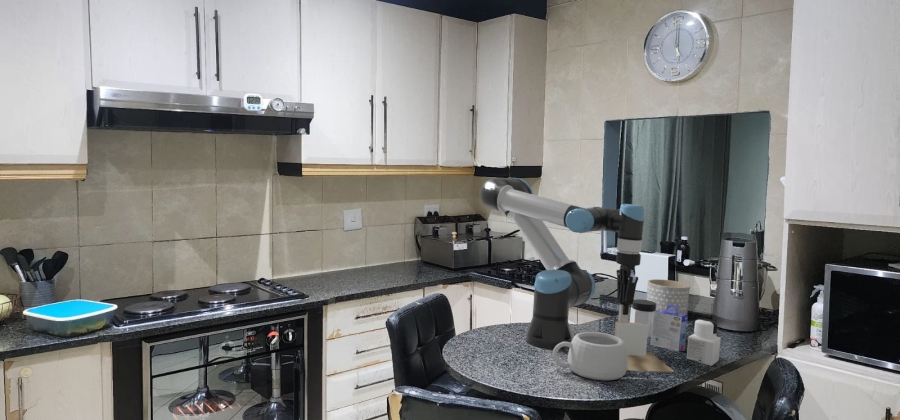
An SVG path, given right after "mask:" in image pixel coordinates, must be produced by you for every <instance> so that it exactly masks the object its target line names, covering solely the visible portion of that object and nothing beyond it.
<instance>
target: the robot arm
mask: <svg viewBox="0 0 900 420" xmlns="http://www.w3.org/2000/svg"><path fill="white" fill-rule="evenodd" d="M479 197H480V200H481V203H482V204H483V205H484V206H485V207H486V208H488V209H490V210H493V211H494V210H495V211H498V212H501V213H502V212H503V214H505V216H506V218H507V219H509V220H513V221H514V222H515V224H516V226H517V227H518V228H519V230H520V231H521V233H522V235H523V236H524V238H525V239H526V241H527V242H528V244H529V245H530V247H531V248H532V250H533V251H534V253H535V254H536V256H537V258H538V260H540V262H541V264H542V265H543V266H544V268H545V270H542V271H540V272H538V273H537V274H536V276H535V282H534V285H533V287H534V291H533V292H534V293H533V304H532V305H533V306H532V307H533V309H532V318H531V320H530V323H529V325H528V328H527V331H526V333H525V341H526V342H527V343H529V344H530V345H532V346H535V347H540V348H544V349H545V348H546V349H552V350H553V349H554V348H555V346H556V345H557V344H559V343H561V342H570V343H571V342H572V339H573V336H572V332H571V327H570V325H569V324H570V323H569V315H570V314H569V313H570V312H569V311H570V308H572V307H577V306H582V305H583V304H585V303H587V302H589V301H590V300H591V299H592V298H593V297H594V294H595V290H596V282H595V278H594V276H593V275H592V274H591V273H590V272H589V271H587V270H584V269H581V267H580V266H579V265H578V263H577V262H576V261H575V260H572V259H569V258H568V256H567V254H566V253H565V252H564V250H563V249H562V247H561V246H560V244H559V243H558V241H557V240H556V239H555V237H554V236H553V234H552V232H551V231H550V229H549V228H548V227H547V225H546V223H545V222H548V223H550V224H553V225H557V226H561V227H563V228H567V229H568V230H570V231H571V232H573V233H575V234H576V233H577V234H578V233H579V234H583V233H591V232H600V231H604V232H605V231H606V232H613V233H617V243H616V250H617V252H616V258H615V259H616V260H615V262H616V264H618V265H620V267H619V269H616V277H617V278H616V281H617V283H616V287H617V288H616V289H617V291H616V292H617V293H616V299H617V300H618V302H619V306H618V307H619V308H618V309H619V310H618V321H617V322H629V318H630V305H632V304H633V300H635V299H634V298H635V294H636V289H637V283H638V282H639V277H638V276H636V267H637V266H638V267H639V266H640V265H641V259H642V255H641V252H642V247H643V245H644V243H643V232H644V222H645V208H644V206H643V205H641V204H632V203H631V204H630V203H622V204H621V205H620V208H616V209H615V208H607V207H600V206H589V207H587V208H586V207H581V206H578V205H573V204H569V203H565V202H562V201H559V200H554V199H552V198H547V197H545V196H544V197H543V196H539V195H536V194H534V193H533V189H532V187H531V186H530V184H529V183H528V182H527V181H526V180H524V179H521V178H517V177H510V178H505V177H492V178H489V179H488V180H485V182H484V183H483V184H482V186H481V188H480V190H479ZM564 348H567V346H563V347H561V348H560V349H564Z"/></svg>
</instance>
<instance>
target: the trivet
mask: <svg viewBox="0 0 900 420" xmlns="http://www.w3.org/2000/svg"><path fill="white" fill-rule="evenodd" d="M627 359H628V367H627V370H626V371H630V372H632V371H635V372H661V373H664V372H665V373H666V372H667V373H669V372H670V373H671V372H672V373H674V372H675V371H674V369H672V368H671V367H669V366H668V365H667V364H666V363H664V362H663V361H662V360H660V359H659V358H658V357H657V356H656V355H654V354H653V353H652V352H650V351H646V356H638V355H627Z"/></svg>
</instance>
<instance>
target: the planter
mask: <svg viewBox="0 0 900 420" xmlns="http://www.w3.org/2000/svg"><path fill="white" fill-rule="evenodd" d="M690 287H691V286H690V284H688V283H685V282H682V281H677V280H670V279H650V280H647V287H646V288H647V290H646V299H645V300H649V301H653V302H655V303H656V310H659V309H661V310H666V308H667V306H668V304H671V305H675V306H678V310H677V313H682V314H687V315H688V311H689V300H690V299H689V298H690ZM669 309H673V310H676V308H674V307H669Z"/></svg>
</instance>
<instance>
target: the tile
mask: <svg viewBox="0 0 900 420" xmlns="http://www.w3.org/2000/svg"><path fill="white" fill-rule="evenodd" d="M614 336H616V337H619V338H620V339H622V340H623V341H624V343H625V345H626V349H627V355H638V356H646V352H647V346H648V337H647V336H648V324H647V323H632V322H630V321H628V322H618V321H615V322H614Z"/></svg>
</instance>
